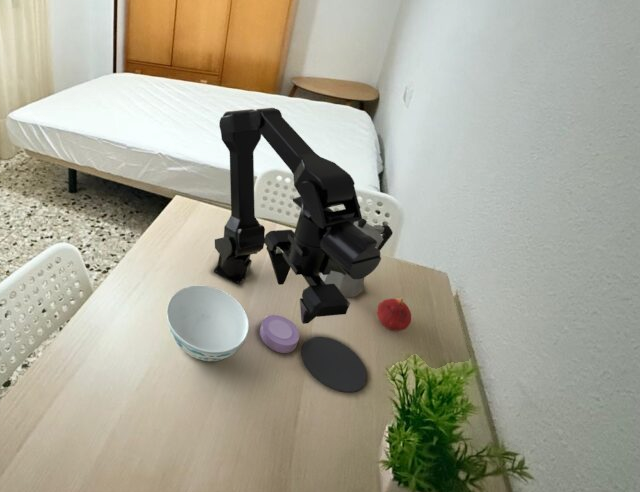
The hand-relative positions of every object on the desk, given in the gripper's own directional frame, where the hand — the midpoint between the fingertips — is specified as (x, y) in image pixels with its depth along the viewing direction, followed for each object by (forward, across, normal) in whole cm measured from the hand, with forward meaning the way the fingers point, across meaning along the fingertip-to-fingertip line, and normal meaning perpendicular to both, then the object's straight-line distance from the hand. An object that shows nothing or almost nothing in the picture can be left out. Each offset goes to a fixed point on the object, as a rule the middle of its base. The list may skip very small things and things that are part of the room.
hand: (292, 302), depth 76 cm
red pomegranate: (+10, 0, -23) cm, 25 cm away
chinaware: (+10, 0, +16) cm, 19 cm away
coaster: (+9, -7, -7) cm, 13 cm away
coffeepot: (+10, +12, -22) cm, 27 cm away
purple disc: (+9, 0, +1) cm, 9 cm away
